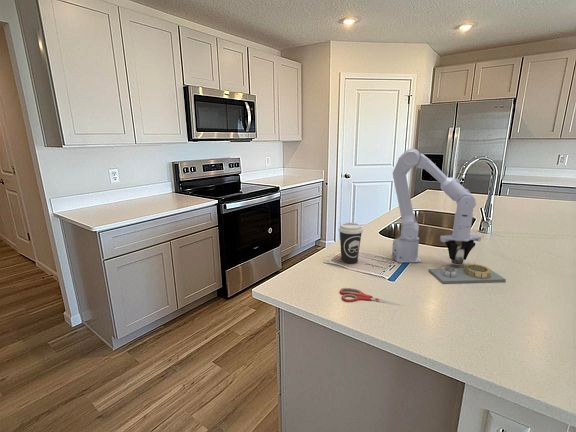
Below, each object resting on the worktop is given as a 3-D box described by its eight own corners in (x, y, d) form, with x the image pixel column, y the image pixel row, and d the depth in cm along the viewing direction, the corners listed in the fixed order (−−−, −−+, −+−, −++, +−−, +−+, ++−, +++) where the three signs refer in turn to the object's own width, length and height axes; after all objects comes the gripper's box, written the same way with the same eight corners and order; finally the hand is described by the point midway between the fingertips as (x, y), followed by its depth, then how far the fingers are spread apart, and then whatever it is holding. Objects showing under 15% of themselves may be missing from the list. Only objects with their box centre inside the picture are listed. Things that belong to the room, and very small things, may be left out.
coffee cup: (363, 258, 128) (365, 223, 125) (358, 266, 120) (360, 230, 116) (341, 254, 132) (342, 221, 128) (334, 263, 124) (335, 227, 120)
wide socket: (472, 278, 107) (473, 273, 106) (459, 269, 114) (460, 264, 114) (495, 278, 107) (496, 272, 106) (480, 268, 115) (481, 263, 114)
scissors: (410, 310, 91) (410, 305, 91) (338, 302, 96) (338, 298, 95) (406, 297, 98) (406, 292, 98) (339, 290, 103) (339, 286, 103)
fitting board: (442, 283, 106) (442, 281, 105) (428, 271, 115) (428, 268, 115) (505, 281, 106) (505, 279, 106) (486, 269, 116) (486, 267, 116)
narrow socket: (446, 277, 108) (446, 272, 107) (438, 271, 113) (439, 266, 112) (460, 277, 108) (461, 271, 108) (452, 271, 113) (453, 266, 112)
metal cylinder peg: (454, 264, 117) (456, 249, 116) (449, 260, 121) (451, 246, 120) (465, 264, 117) (467, 249, 116) (459, 260, 121) (461, 245, 120)
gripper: (449, 228, 111) (444, 263, 115) (488, 227, 112) (482, 262, 115) (439, 223, 118) (435, 256, 122) (476, 222, 119) (471, 255, 122)
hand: (457, 258), depth 119 cm, fingers closed on metal cylinder peg, 4 cm apart
